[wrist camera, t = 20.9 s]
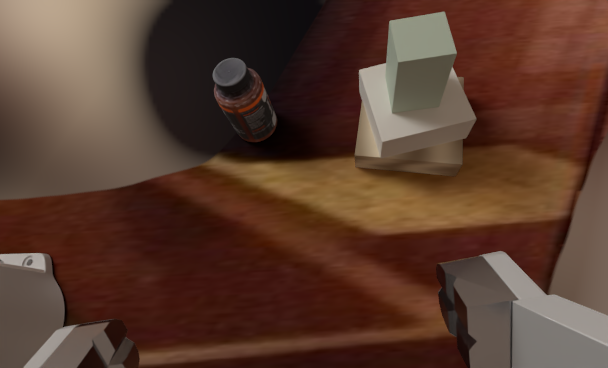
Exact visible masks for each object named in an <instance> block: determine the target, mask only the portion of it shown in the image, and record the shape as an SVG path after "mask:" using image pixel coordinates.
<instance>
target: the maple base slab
mask: <svg viewBox="0 0 608 368" xmlns="http://www.w3.org/2000/svg"><path fill="white" fill-rule="evenodd" d="M457 78H458V80H459V82H460V84H461V87H462V89H463V82H464V77H457ZM462 164H463V139H461V140H457V141H452V142H448V143H444V144H440V145H436V146H431V147H427V148H423V149H419V150H415V151H410V152H406V153H402V154H398V155H394V156H389V157H385V158H380V155H379V152H378V149H377V146H376V143H375V139H374V136H373V133H372V130H371V127H370V123H369V120H368V117H367V114H366V111H365V107H364V104H363V101H362V106H361V113H360V121H359V128H358V135H357V143H356V150H355V167H359V168H370V169H381V170H392V171H402V172H413V173H424V174H435V175H446V176H456V174H457V173H458V171H459V169H460V168H461V166H462Z"/></svg>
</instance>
